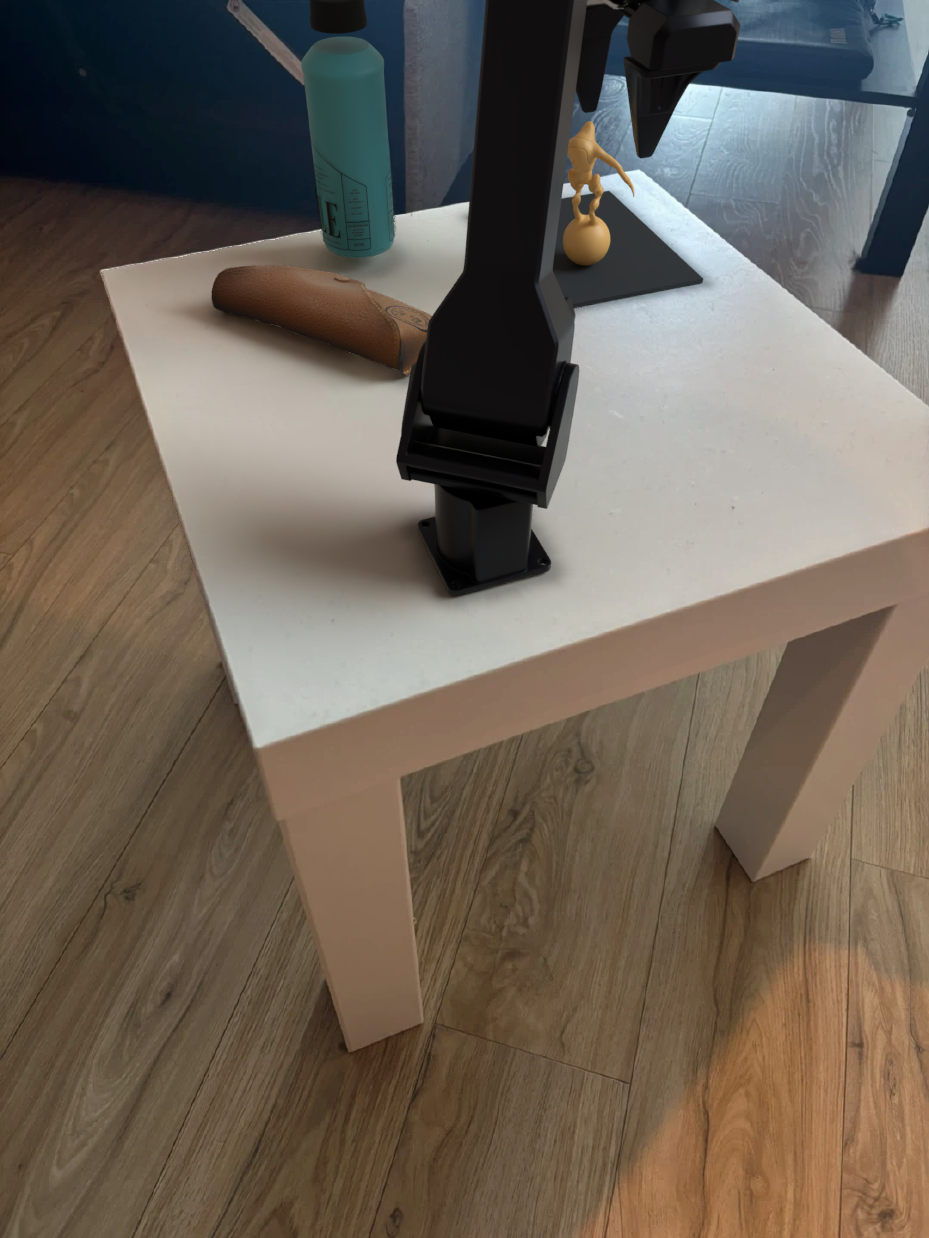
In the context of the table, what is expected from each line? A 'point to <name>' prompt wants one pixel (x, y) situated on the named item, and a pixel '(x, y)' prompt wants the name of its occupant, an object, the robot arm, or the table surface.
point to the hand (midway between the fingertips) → (615, 133)
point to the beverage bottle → (349, 133)
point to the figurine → (588, 232)
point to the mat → (618, 257)
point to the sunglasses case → (325, 311)
